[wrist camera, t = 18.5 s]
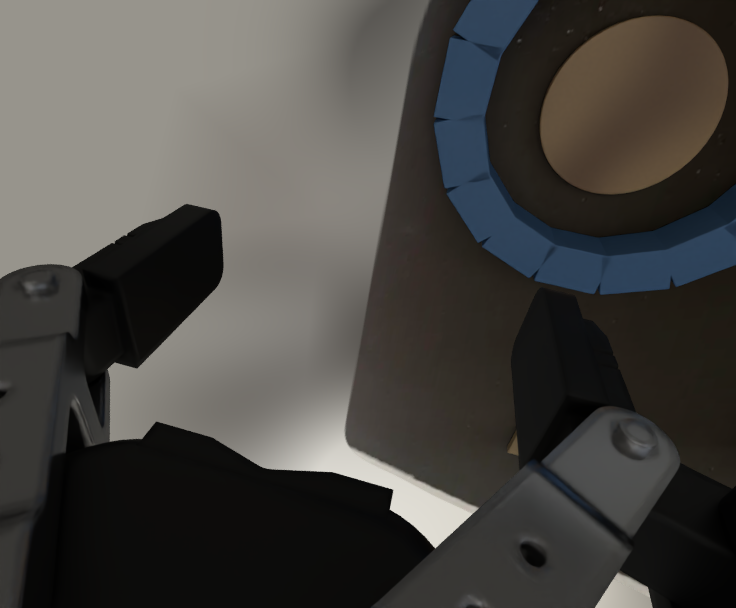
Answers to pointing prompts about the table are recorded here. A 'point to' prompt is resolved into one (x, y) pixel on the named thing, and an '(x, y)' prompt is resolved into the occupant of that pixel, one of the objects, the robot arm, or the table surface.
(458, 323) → the table surface
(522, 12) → the hoop
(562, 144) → the cork coaster
